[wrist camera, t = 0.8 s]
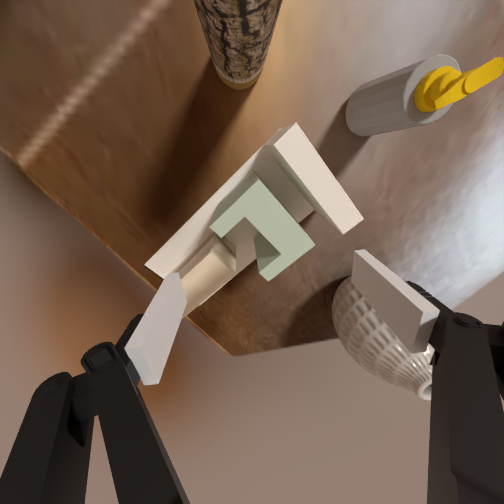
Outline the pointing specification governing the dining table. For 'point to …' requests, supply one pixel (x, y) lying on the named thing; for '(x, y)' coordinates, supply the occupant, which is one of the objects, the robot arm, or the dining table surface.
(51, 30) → the dining table surface
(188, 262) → the beige wooden block
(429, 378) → the vase
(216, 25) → the bark log
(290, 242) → the socket block
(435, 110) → the soap bottle
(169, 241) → the track
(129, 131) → the dining table surface
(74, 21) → the dining table surface
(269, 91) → the dining table surface
